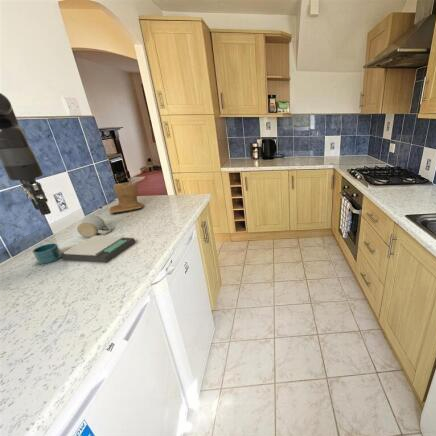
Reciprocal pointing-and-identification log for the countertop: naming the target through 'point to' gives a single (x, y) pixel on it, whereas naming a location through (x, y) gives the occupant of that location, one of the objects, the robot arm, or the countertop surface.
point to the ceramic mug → (92, 226)
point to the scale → (98, 249)
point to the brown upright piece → (126, 198)
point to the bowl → (47, 253)
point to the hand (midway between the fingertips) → (43, 211)
